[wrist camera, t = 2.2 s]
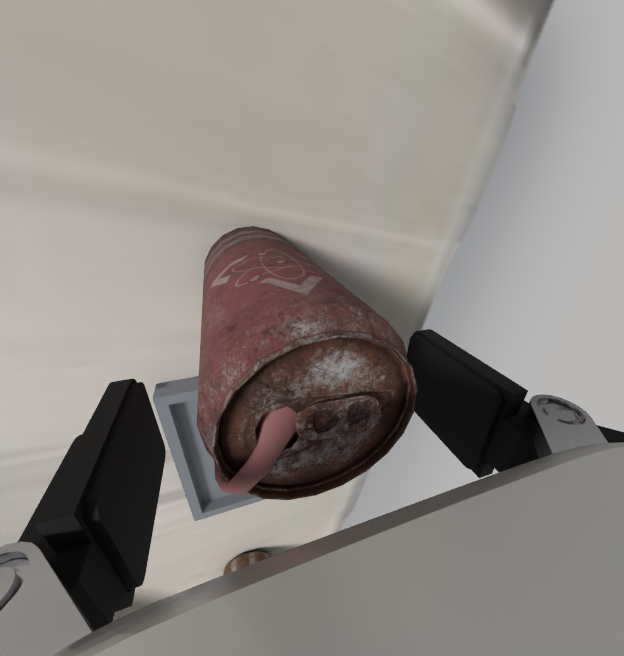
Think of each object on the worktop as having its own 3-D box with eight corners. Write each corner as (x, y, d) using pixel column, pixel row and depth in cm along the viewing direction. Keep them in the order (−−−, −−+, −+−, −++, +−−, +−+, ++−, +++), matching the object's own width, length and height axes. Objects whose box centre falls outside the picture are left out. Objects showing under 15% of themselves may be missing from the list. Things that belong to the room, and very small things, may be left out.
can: (179, 275, 17) (118, 480, 6) (252, 203, 17) (356, 261, 5) (249, 332, 21) (304, 535, 9) (313, 273, 20) (459, 407, 8)
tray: (156, 384, 20) (152, 398, 19) (345, 350, 24) (353, 360, 23) (195, 504, 27) (194, 521, 26) (336, 462, 31) (342, 475, 30)
